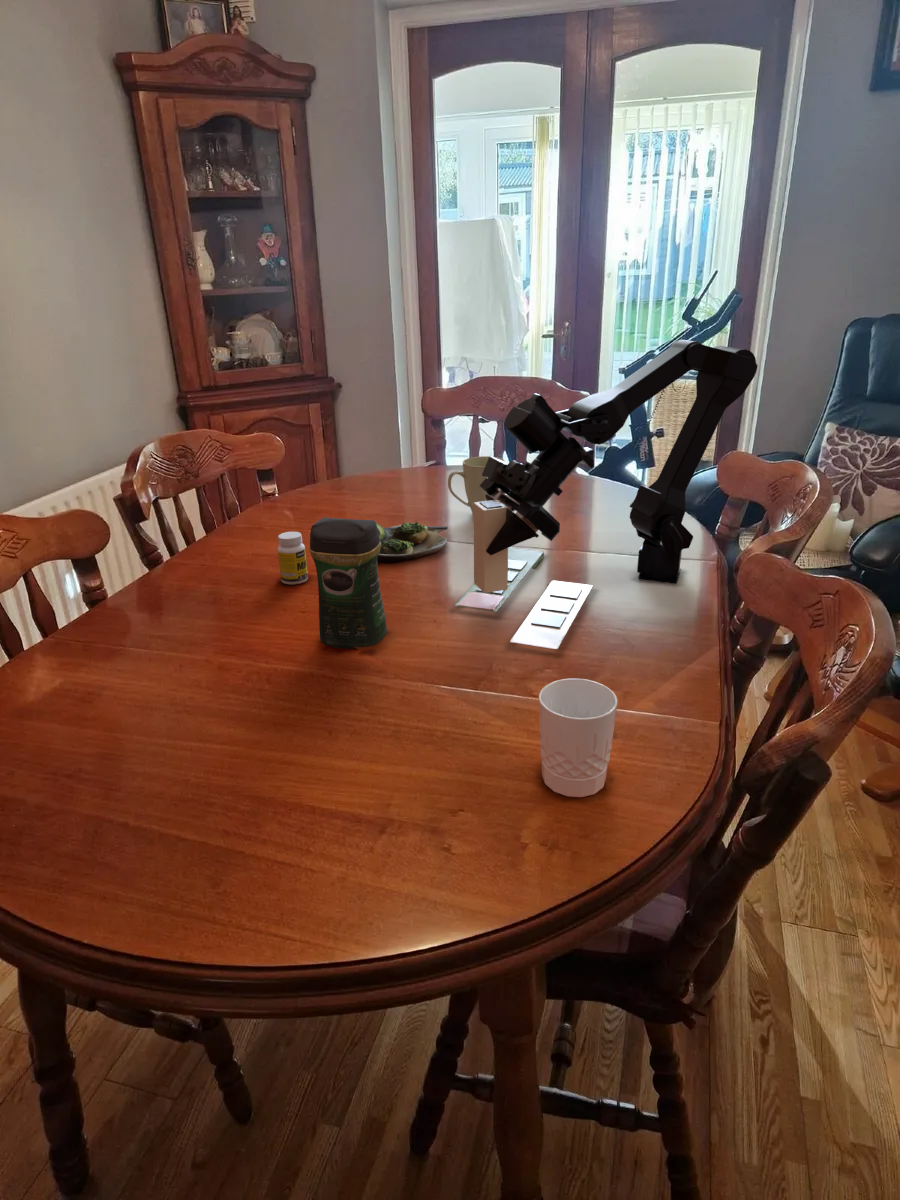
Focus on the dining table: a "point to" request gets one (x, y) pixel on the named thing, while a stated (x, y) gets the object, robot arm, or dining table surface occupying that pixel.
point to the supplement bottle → (292, 558)
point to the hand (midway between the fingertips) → (482, 548)
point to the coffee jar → (348, 582)
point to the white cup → (576, 735)
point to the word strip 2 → (552, 615)
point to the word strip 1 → (517, 569)
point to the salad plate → (409, 541)
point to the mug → (472, 479)
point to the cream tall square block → (486, 526)
